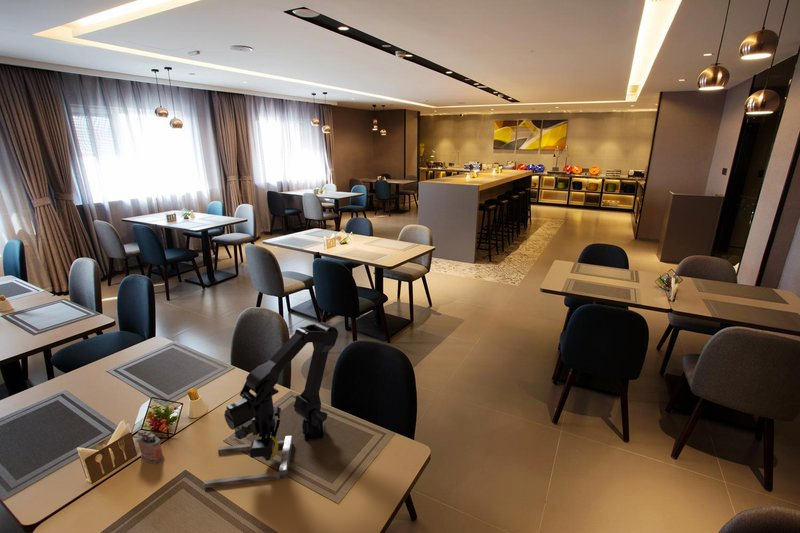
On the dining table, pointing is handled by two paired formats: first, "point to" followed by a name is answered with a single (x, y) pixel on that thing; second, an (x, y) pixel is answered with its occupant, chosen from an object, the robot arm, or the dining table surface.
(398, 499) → the dining table surface
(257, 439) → the robot arm
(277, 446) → the lemon
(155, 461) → the pink grey container
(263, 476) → the channel
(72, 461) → the dining table surface
